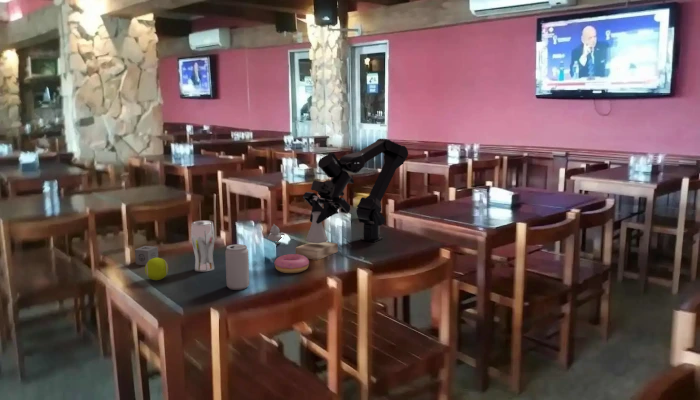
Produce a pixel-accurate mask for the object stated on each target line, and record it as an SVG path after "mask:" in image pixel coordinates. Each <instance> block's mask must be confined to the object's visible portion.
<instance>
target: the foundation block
mask: <svg viewBox="0 0 700 400" xmlns="http://www.w3.org/2000/svg"><path fill="white" fill-rule="evenodd" d="M338 246H339V244H338V242H337V243H336V242H330V241H326V242H323V243H310V242H308V243H305V244H302V245H299V246H296V247H295V254H300V255H303V256H305V257H307V258H308V260H309V259H310V260H314V261H319V260H321V259H324V258H326V257H328V256H331V255H333V254H336V253H338V252H339V247H338Z"/></svg>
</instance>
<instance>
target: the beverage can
mask: <svg viewBox="0 0 700 400" xmlns="http://www.w3.org/2000/svg"><path fill="white" fill-rule="evenodd" d="M224 254H225V255H224V256H225V274H226V275H225V277H226V286H227V288H228V289H229V290H234V291H240V290H246V289H247V287H248V286H250V263H249V262H250V261H249V260H250V259H249V249H248V245H246V244H243V243H242V244H230V245H227V246H226V250H225V252H224Z"/></svg>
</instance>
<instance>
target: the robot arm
mask: <svg viewBox="0 0 700 400" xmlns="http://www.w3.org/2000/svg"><path fill="white" fill-rule="evenodd" d="M380 154H383V162H384V163H383V165H382V168H381V169H380V172H379V173H378V176H377V177H376V179H375V181H374V184H373V186H372V188H371V191H370V193H369V195H368V196H366V197H365V196H364V197H361V198H360V199H359V202H358V204H357V205H356V211H355V212H356V215H357V219H358V223H361V224H363V231H362V233H363V234H362V236H363V237H360V238H359V240H360V241H366V242H372V243H376V242H378V241H380V240H383V239H384V237H383V236H380V226H383V225H384V224H385V223H386V221H385V220H386V218H385V217H384V216H383V214H382V213H381V211H382V203H381V202H382V199H383V197H384V196H385V193H386V191H387V189H388V187H389V186H390V183H391V181H392V178H393V176H394V174H395V172H396V170H397V169H398V168H400V167H402V165H404V163H405V162H406V161H407V158H408V156H409V151H408V148H407V147H406V146H405V145H401V144H399V143H396V142H394V141H392V140H390V139H389V138H378V139H377V140H376V141H374V142H373V143H371V144H369V145H368V146H366V147H364V148H363V149H361V150H359V151H358V152H353V153H348V154H345V155H343V156H341V157H340V158H339V159H338V158H337V156H336V155H335V153H334V152H329V153H328V154H327V155H324V156H323V157H322V158H320V159H319V161H318V162H317V166H318V168H320V170H321V171H322V172H323V173H324V174H325V175H326V176H327V177H328V178H331V179H330V180H325V181H321V180H320V181H319V180H314V179H313V181H312V184H311V187H310V190H311V191H306V192H304V194H303V196H302V198H303V199H304V200H305V201H306V203H307V204H308V205H309V206H310V207H311V212H310V217H309V222H311V223H312V220H313V214H312V212H321V213H320V215H319V217H318V219H317V221H316V223H317V224H319V223H321V222H322V223H323V222H324V221H325V220H327V219H328V218H330V217H332V216H334V215H336V214H337V215H338V214H339V209H340V212H341V213H342V214H349V212H350V210H351V205H350V203H349V202H348V201H347V200H346V198H345V197H344V195H345V192H344V190H345V189H346V187H347V185H348V184H355V181H354V180H355V179H354V175H350V174H349V173H352V174H353V173H354V174H357V173H359V172H360V171H361V170H363V169H364V168H365V165H366V163H368V162H370V161H371V160H372V159H374V158H376V157H377V156H379V155H380ZM312 191H315V192H312ZM316 192H317V193H316Z"/></svg>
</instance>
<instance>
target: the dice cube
mask: <svg viewBox="0 0 700 400" xmlns="http://www.w3.org/2000/svg"><path fill="white" fill-rule="evenodd" d="M134 256H135V265H140V266H145V265H146V264H147V262H148V261H149V260H150V259H152V258H159V248H158V246H153V245H142V246H140V247H138V248H135V249H134Z"/></svg>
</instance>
